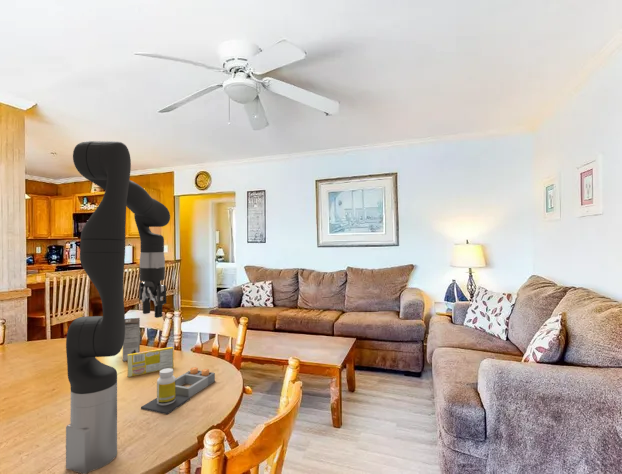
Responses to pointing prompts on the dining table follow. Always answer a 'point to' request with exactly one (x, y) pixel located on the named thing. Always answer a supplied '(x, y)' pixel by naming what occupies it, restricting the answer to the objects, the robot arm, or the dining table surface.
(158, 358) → the candy box
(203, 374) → the plunger
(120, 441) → the dining table surface
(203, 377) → the frame
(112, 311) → the robot arm
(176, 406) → the mat
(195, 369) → the plunger
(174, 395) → the supplement bottle
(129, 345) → the coffee box
